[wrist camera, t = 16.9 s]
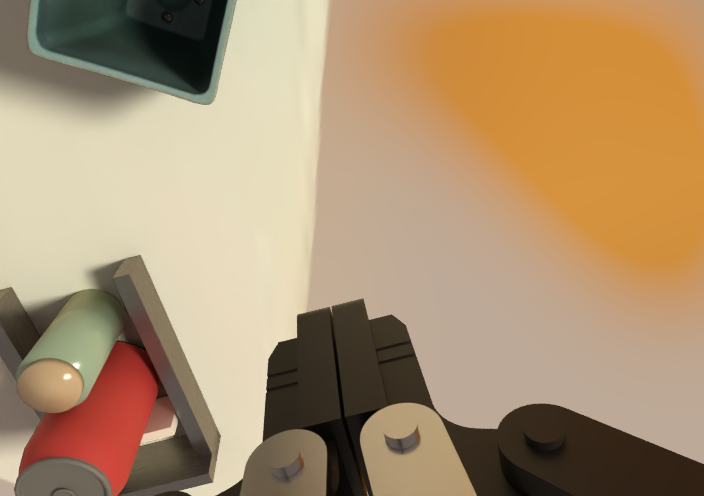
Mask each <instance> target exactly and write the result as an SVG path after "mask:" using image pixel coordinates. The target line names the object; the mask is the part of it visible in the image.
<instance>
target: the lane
mask: <svg viewBox="0 0 704 496" xmlns="http://www.w3.org/2000/svg"><path fill="white" fill-rule="evenodd" d="M112 279H113V281H114V283H115V286H116V288H117V290H118V292H119V294H120V296H121V298H122V300H123V302H124V304H125V306H126V309H127V311H128V313H129V315H130V317H131V319H132V321H133V323H134V325H135V327H136V329H137V332H138V334H139V336H140V338H141V340H142V342H143V344H144V346H145V348H146V350H147V352H148V355H149V357H150V359H151V361H152V363H153V365H154V367H155V369H156V371H157V373H158V375H159V378H160V380H161V382H162V384H163V386H164V388H165V390H166V392H167V394H168V396H169V398H170V401H171V403H172V405H173V407H174V409H175V411H176V413H177V415H178V417H179V419H180V421H181V424H182V426H183V428H184V430H185V432H186V434H187V435H185V436H181V437H177V438H173V439H169V440H165V441H161V442H157V443H153V444H149V445H145V446H141V447H139V449H138V452H137V455H136V457H135V460H134V463H133V466H132V469H131V472H130V475H129V478H128V480H127V483H126V485H125V486H124V488H123V489H122V491H121V492H120V493H119V494H118V495H117V496H154V495H157V494H160V493H163V492H168V491H180V490H184V489H188V488H192V487H196V486H200V485H204V484H208V483H212V482H213V478H214V472H215V466H216V461H217V455H218V449H219V443H220V437H221V436H220V434H219V431H218V429H217V427H216V425H215V422H214V420H213V418H212V416H211V413H210V411H209V409H208V407H207V404H206V402H205V400H204V398H203V395H202V393H201V391H200V389H199V386H198V384H197V382H196V380H195V377H194V375H193V373H192V370H191V368H190V366H189V364H188V361H187V359H186V357H185V355H184V352H183V350H182V348H181V346H180V343H179V341H178V339H177V337H176V334H175V332H174V330H173V328H172V325H171V323H170V321H169V319H168V316H167V314H166V312H165V310H164V307H163V305H162V303H161V301H160V298H159V296H158V294H157V291H156V289H155V287H154V285H153V282H152V280H151V278H150V276H149V273H148V271H147V269H146V267H145V264H144V262H143V260H142V258H141V255H139V256H135V257H131V258H127V259H124V261H123V262H122V264H121V265H120V267H119V268H118V270H117V272H116V273H115V275H114V276H113V278H112ZM39 339H40V336H39V334H38V332H37V331H36V329H35V327H34V325H33V324H32V322H31V320H30V318H29V317H28V315H27V313H26V311H25V310H24V308H23V306H22V304H21V303H20V301H19V299H18V298H17V296H16V294H15V292H14V291H13V289H12V287H11V288H7V289H3V290H0V355H1V357H2V359H3V360H4V362H5V363H6V365H7V367H8V368H9V370H10V371H11V373H12V375H13V376H14V378H15V379H16V372H17V369H18V367H19V365H20V364H21V363H22V361H23V360H24V359H25V357H26V356H27V355H28V353H29V352H30V351H31V349H32V348H33V347H34V345H35V344H36V343H37V341H38V340H39ZM34 410H35V412H36V413H37V415H38V416H39V418H40V420H42V418H43V417H44V415H45V413H46V412H41V411H38V410H36V409H34Z"/></svg>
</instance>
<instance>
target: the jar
mask: <svg viewBox="0 0 704 496" xmlns="http://www.w3.org/2000/svg"><path fill="white" fill-rule="evenodd" d="M125 323H126V312H125V309H124V307H123V305H122V303H121V302H120V301H119V300H118V299H117V298H116V297H114V296H113V295H111V294H110V293H107V292H105V291H102V290H97V289H87V290H82V291H80V292H77V293H75V294H74V295H73V296H72V297H71V298H70V299H69V300H68V301H67V303H66V304H65V305H64V307H63V308H62V309H61V311H60V312H59V313H58V315H57V316H56V317H55V319H54V320H53V321H52V323H51V324H50V325H49V327H48V328H47V329H46V331H45V332H44V333H43V335H42V336H41V337H40V339H39V340H38V341H37V343H36V344H35V345H34V347H33V348H32V349H31V351H30V352H29V353H28V355H27V356H26V357H25V359H24V360H23V361H22V363H21V364H20V365H19V367H18V369H17V372H16V382H17V390H18V393H19V396H20V397H21V399H22V400H23V401H24V402H25V403H26V404H27V405H29V406H30V407H32V408H34V409H36V410H38V411H41V412H46V413H60V412H64V411H66V410H69V409H70V408H72V407H75V406H77V405H79V404H80V403H82V402H83V401H84V400H85V399H86V398H87V396H88V395H89V393H90V391H91V389H92V387H93V385H94V383H95V381H96V379H97V377H98V376H99V374H100V372H101V370H102V368H103V366H104V364H105V362H106V360H107V358H108V356H109V354H110V352H111V351H112V349H113V347H114V345H115V343H116V341H117V339H118V337H119V335H120V333H121V331H122V329H123V327H124V326H125Z"/></svg>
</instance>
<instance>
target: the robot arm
mask: <svg viewBox="0 0 704 496" xmlns="http://www.w3.org/2000/svg"><path fill="white" fill-rule="evenodd" d="M332 314H333V316H332ZM267 376H268V379H267V388H266V390H267V393H266V402H265V416H264V430H263V443H261V444H260V445H259V446H258V447H257V448H256V449H255V450H254V451H253V453H252V454H251V456H250V457H249V459H248V461H247V463H246V467H245V471H244V476H243V479H242V480H241V481H239V482H238V483H237V484H235V485H234V486H232V487H231V488H229V489H227V490H226V491H224V492H222V493H220V494H218V495H216V496H368V495H369V496H704V464H702V463H699V462H697V461H694V460H692V459H689V458H687V457H684V456H682V455H680V454H677V453H675V452H672V451H670V450H667V449H665V448H662V447H660V446H657V445H655V444H653V443H650V442H648V441H645V440H643V439H640V438H638V437H635V436H633V435H630V434H628V433H625V432H623V431H621V430H618V429H616V428H613V427H611V426H608V425H606V424H603V423H601V422H598V421H596V420H593V419H591V418H589V417H586V416H584V415H581V414H579V413H576V412H574V411H571V410H569V409H566V408H563V407H560V406H557V405H551V404H531V405H526V406H523V407H520V408H518V409H515V410H513V411H512V412H510V413H509V414H507V415H506V416H505V417H504V418H503V420H502V421H501V422H500V424H499V427H498V429H475V428H467V427H462V426H459V425H456V424H454V423H452V422H449V421H448V420H446V419H445V418H443V417H442V416H441V415H440V414H439V413H438V412H437V411H436V409H435V408H434V406H433V404H432V401H431V398H430V395H429V392H428V389H427V386H426V383H425V380H424V377H423V375H422V372H421V369H420V366H419V363H418V360H417V357H416V355H415V351H414V348H413V346H412V343H411V339H410V337H409V334H408V331H407V328H406V325H405V324H403V323H402V322H401V321H400V320H398V319H397V318H396V317H394V316H393V315H388V316H384V317H380V318H376V319H372V320H369V319H368V316H367V311H366V308H365V304H364V299H359V300H355V301H351V302H347V303H343V304H339V305H335V306H332V312H331V310H330V307H327V308H323V309H319V310H315V311H311V312H307V313H302V314H298V315H297V338H295V339H291V340H286V341H282V342H279V343H278V345H277V346H276V348H275V349H274V351H273V353H272V354H271V356H270V357H269V359H268V373H267ZM367 492H368V495H367ZM154 496H191V495H189V494H188V493H185V492H181V491H168V492H163V493H160V494H157V495H154Z"/></svg>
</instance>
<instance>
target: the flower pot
mask: <svg viewBox="0 0 704 496" xmlns="http://www.w3.org/2000/svg"><path fill="white" fill-rule="evenodd" d="M236 1H237V0H204V2H203V3H202V4H199V3H197V1H196V0H30V8H29V17H28V27H27V45H28V49H29V51H30V52H31V53H32V54H34V55H37V56H39V57H42V58H45V59H48V60H53V61H56V62H60V63H63V64H67V65H71V66H74V67H77V68H81V69H85V70H88V71H93V72H96V73H99V74H103V75H106V76H110V77H113V78H116V79H120V80H123V81H126V82H129V83H133V84H136V85H139V86H143V87H146V88H150V89H153V90H157V91H159V92H163V93H166V94H169V95H172V96H175V97H179V98H182V99H185V100H188V101H190V102H193V103H198V104H202V105H208V104H211V103H212V102H213V101H214V99H215V97H216V93H217V89H218V83H219V79H220V74H221V69H222V64H223V60H224V55H225V51H226V46H227V42H228V37H229V33H230V28H231V24H232V19H233V15H234V10H235V5H236ZM165 13H170V14H171V16H172V20H171V21H170V22H166V21H165V20H164V18H163V16H164V14H165Z"/></svg>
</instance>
